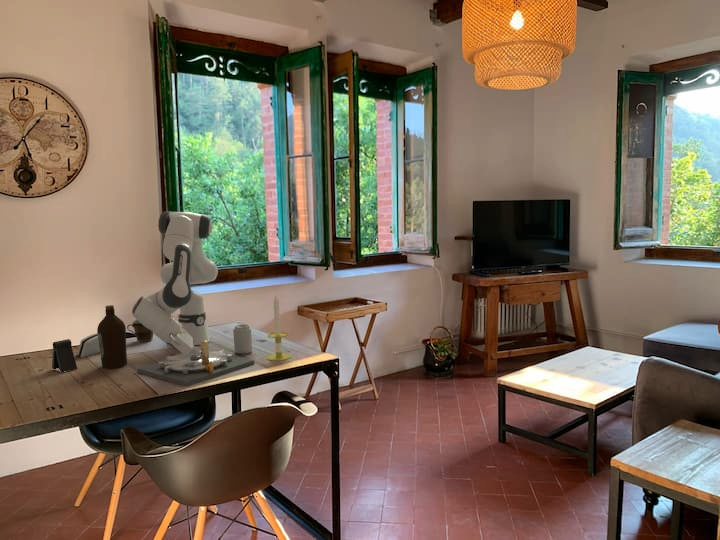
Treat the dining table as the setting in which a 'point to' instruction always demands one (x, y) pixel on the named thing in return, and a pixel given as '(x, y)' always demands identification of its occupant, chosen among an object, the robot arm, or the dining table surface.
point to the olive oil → (112, 340)
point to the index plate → (195, 376)
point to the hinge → (89, 346)
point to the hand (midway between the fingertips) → (199, 354)
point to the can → (242, 339)
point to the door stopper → (63, 356)
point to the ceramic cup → (141, 332)
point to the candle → (278, 336)
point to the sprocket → (195, 360)
